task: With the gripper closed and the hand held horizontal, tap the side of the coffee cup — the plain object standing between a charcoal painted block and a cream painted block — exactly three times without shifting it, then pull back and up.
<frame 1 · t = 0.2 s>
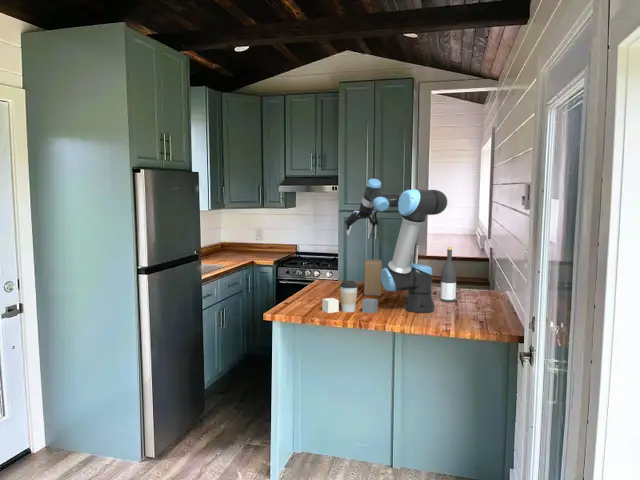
hand: (358, 233, 282), 35 cm above the worktop, tool tilted 35°, fingers open, 13 cm apart
cream block: (330, 311, 241), on the worktop
block: (372, 294, 280), on the worktop
coffee cup: (348, 310, 242), on the worktop
wine bottle: (447, 301, 264), on the worktop
charcoal block: (369, 311, 241), on the worktop
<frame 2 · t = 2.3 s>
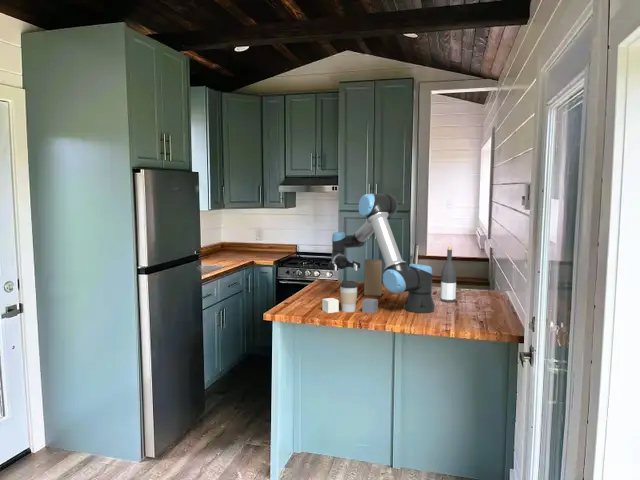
hand: (346, 268, 249), 20 cm above the worktop, tool horizontal, fingers open, 10 cm apart
nothing on the worktop moved.
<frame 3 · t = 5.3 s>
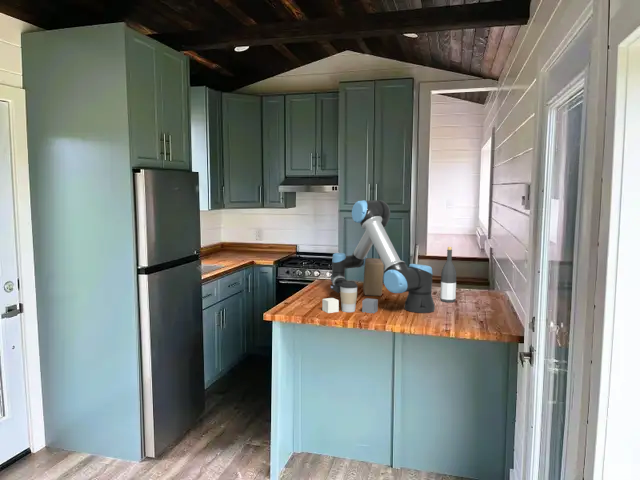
hand: (346, 294, 246), 7 cm above the worktop, tool horizontal, fingers closed
block: (372, 293, 279), on the worktop, touching arm
coffee cup: (348, 310, 242), on the worktop, touching gripper
everything else where it was.
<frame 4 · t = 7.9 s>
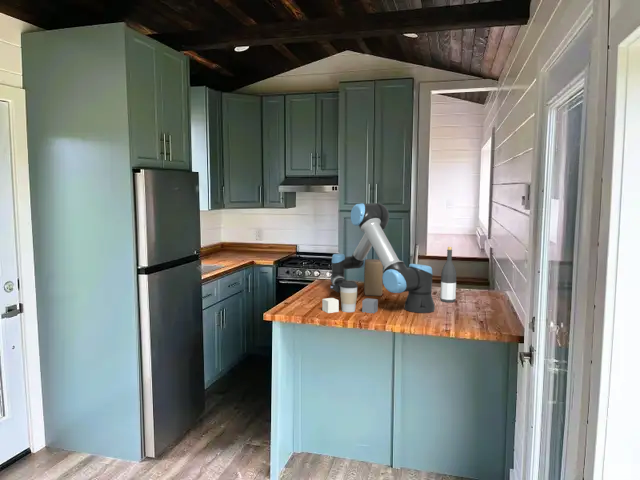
hand: (346, 293, 249), 7 cm above the worktop, tool horizontal, fingers closed
coffee cup: (348, 310, 242), on the worktop
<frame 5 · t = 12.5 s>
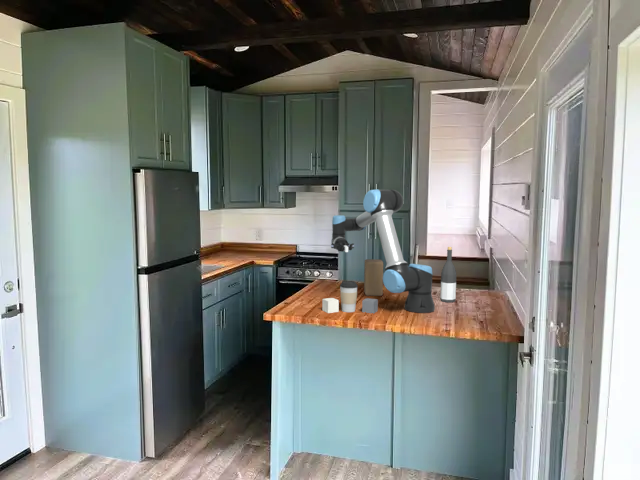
hand: (346, 249, 247), 30 cm above the worktop, tool horizontal, fingers closed
block: (373, 294, 280), on the worktop
everything else where it was.
at the end: coffee cup moved 0.2 cm from its start; coffee cup tilted 0°; cream block moved 0.1 cm from its start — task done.
